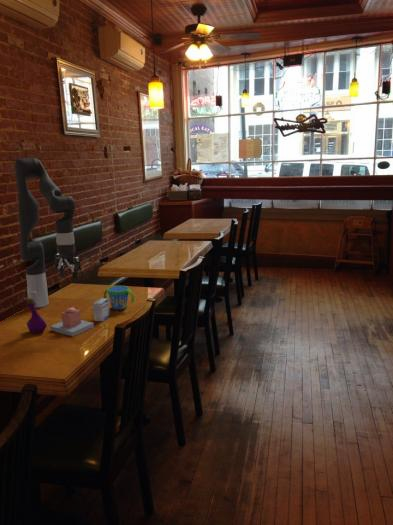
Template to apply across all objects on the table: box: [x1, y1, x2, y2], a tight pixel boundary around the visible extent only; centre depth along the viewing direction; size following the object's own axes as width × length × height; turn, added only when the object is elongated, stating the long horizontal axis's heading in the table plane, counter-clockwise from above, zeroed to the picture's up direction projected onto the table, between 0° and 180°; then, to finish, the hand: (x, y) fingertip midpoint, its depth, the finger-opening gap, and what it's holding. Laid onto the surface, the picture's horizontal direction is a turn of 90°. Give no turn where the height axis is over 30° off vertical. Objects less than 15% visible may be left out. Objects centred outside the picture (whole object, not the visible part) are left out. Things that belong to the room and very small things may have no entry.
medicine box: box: [92, 297, 111, 322], centre depth 199 cm, size 8×4×9 cm, turn 168°
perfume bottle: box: [25, 291, 48, 335], centre depth 184 cm, size 8×8×18 cm
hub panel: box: [50, 319, 95, 338], centre depth 188 cm, size 14×12×6 cm
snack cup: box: [103, 285, 135, 311], centre depth 213 cm, size 16×10×10 cm
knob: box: [61, 307, 82, 328], centre depth 187 cm, size 5×6×7 cm
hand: (68, 278), depth 190 cm, fingers open, 8 cm apart
